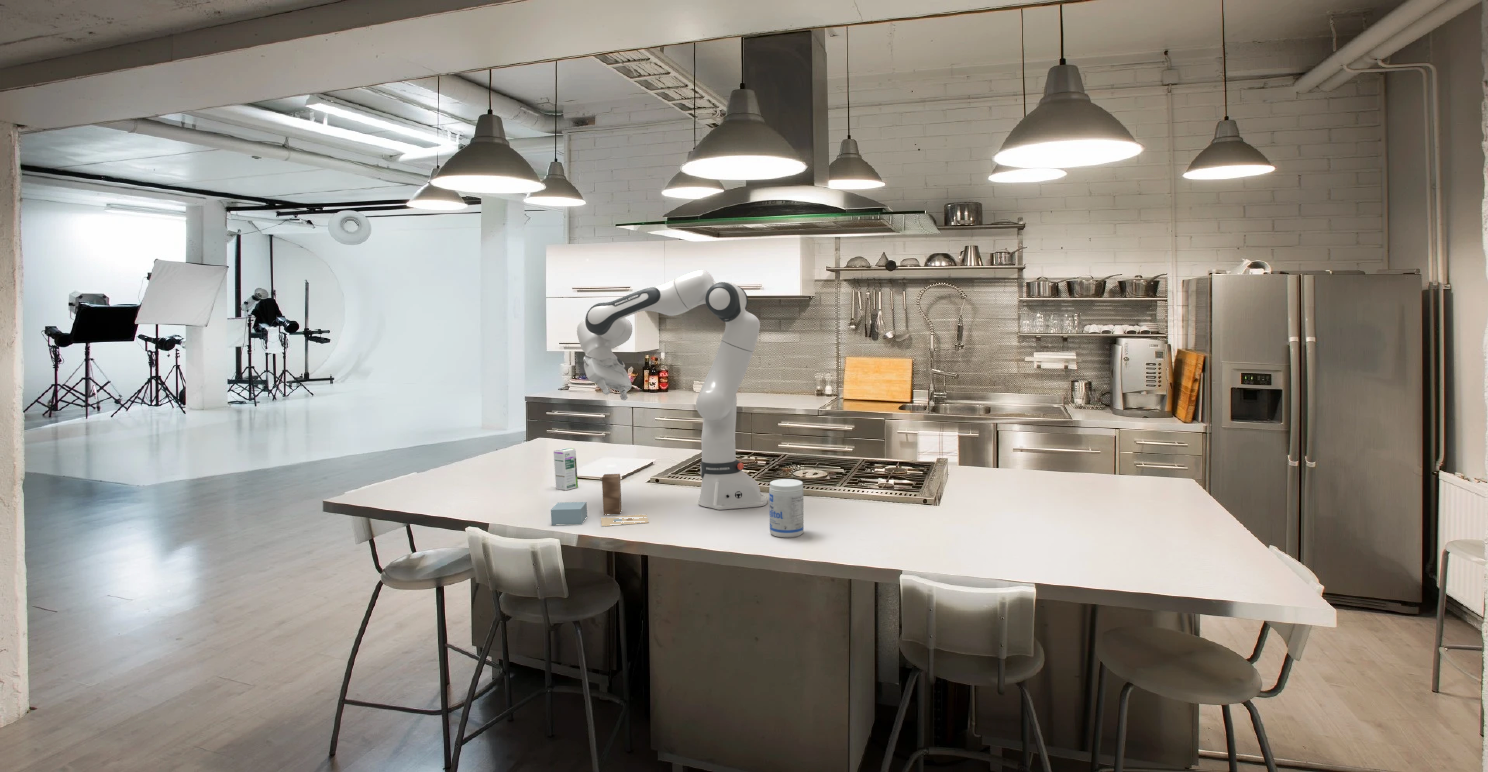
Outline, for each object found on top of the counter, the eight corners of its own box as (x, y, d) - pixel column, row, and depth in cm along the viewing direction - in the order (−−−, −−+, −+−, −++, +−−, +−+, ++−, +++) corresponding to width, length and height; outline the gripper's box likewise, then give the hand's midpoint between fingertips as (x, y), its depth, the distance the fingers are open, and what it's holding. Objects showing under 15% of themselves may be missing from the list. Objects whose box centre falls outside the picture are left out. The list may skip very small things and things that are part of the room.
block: (621, 510, 255) (620, 473, 254) (619, 514, 250) (617, 477, 249) (606, 511, 255) (604, 474, 254) (603, 515, 250) (601, 477, 249)
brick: (587, 517, 249) (586, 501, 248) (581, 525, 240) (580, 509, 239) (558, 518, 249) (557, 502, 248) (551, 526, 240) (550, 509, 239)
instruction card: (646, 514, 249) (646, 513, 249) (648, 522, 239) (648, 522, 239) (600, 518, 246) (600, 517, 246) (601, 526, 236) (601, 525, 236)
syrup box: (566, 490, 286) (564, 450, 284) (555, 488, 289) (553, 449, 288) (578, 487, 290) (576, 448, 289) (567, 485, 294) (565, 447, 292)
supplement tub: (762, 534, 223) (761, 483, 222) (783, 527, 230) (782, 477, 229) (790, 540, 217) (789, 487, 216) (811, 532, 224) (809, 481, 223)
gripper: (589, 348, 252) (604, 384, 247) (626, 363, 270) (641, 397, 264) (574, 359, 254) (588, 395, 248) (612, 373, 272) (627, 407, 266)
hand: (616, 396), depth 257 cm, fingers open, 8 cm apart
